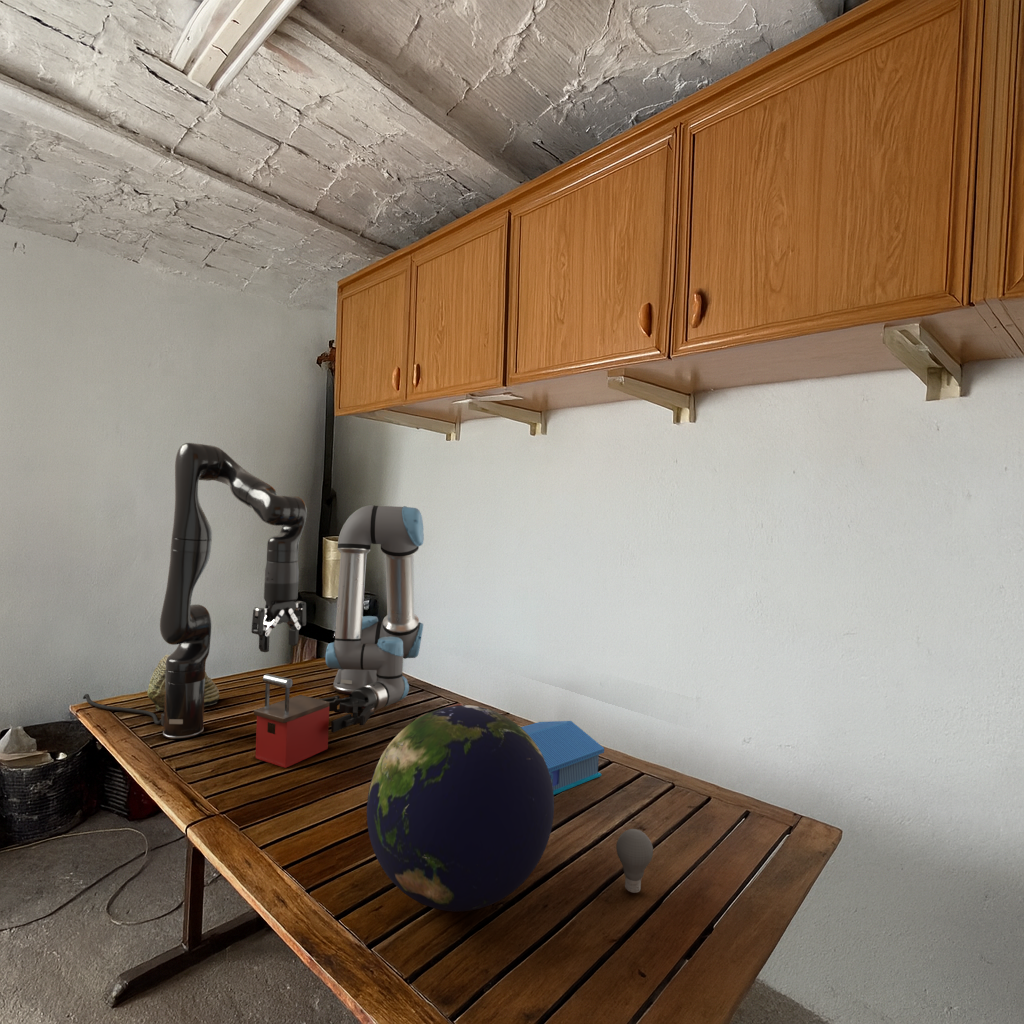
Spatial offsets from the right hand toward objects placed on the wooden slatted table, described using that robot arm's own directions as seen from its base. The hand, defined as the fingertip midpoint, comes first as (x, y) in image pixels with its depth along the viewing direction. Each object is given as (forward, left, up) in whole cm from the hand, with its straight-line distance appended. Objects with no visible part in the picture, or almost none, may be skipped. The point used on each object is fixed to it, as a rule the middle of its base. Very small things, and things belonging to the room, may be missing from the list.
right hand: (311, 721), depth 160 cm
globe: (+55, +45, -6) cm, 71 cm away
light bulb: (+51, +73, -6) cm, 90 cm away
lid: (+5, -3, +4) cm, 7 cm away
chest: (+5, -3, -6) cm, 8 cm away
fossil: (-23, -46, -6) cm, 52 cm away
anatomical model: (-24, +29, -6) cm, 38 cm away
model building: (+14, +52, -6) cm, 55 cm away
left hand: (+10, -5, +21) cm, 23 cm away
